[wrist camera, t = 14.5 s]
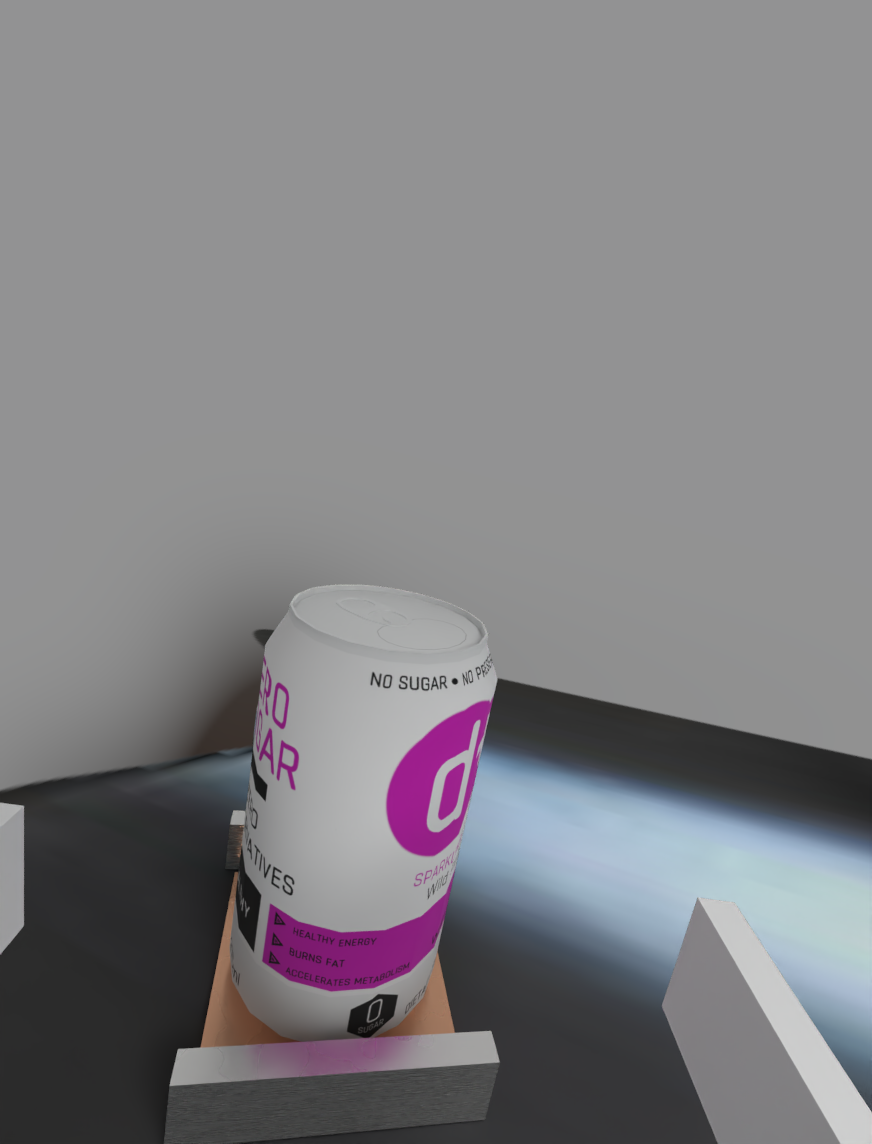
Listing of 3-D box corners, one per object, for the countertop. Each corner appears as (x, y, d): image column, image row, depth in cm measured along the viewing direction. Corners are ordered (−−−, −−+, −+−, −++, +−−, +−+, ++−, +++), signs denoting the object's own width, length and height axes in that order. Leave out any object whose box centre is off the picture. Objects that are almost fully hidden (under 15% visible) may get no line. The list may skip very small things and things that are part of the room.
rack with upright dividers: (398, 744, 41) (404, 713, 40) (484, 1119, 19) (499, 1062, 18) (254, 736, 39) (258, 703, 38) (163, 1150, 17) (169, 1086, 16)
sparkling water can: (467, 957, 25) (544, 633, 21) (325, 1121, 18) (404, 686, 15) (337, 854, 29) (383, 573, 26) (184, 954, 22) (220, 592, 19)
